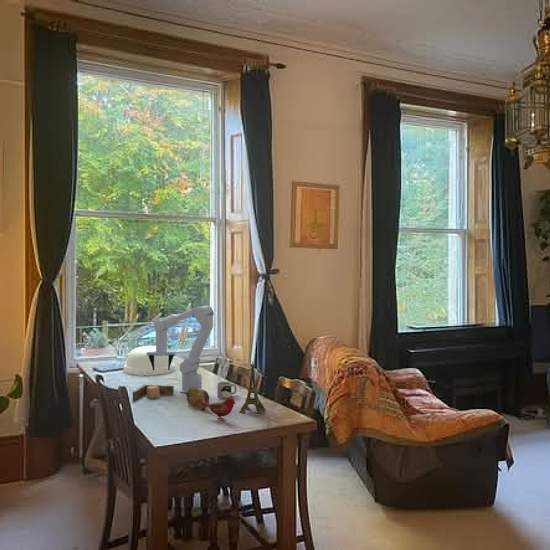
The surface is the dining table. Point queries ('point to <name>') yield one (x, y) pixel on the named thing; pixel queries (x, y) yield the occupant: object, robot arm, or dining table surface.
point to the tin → (197, 398)
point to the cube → (152, 391)
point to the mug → (225, 390)
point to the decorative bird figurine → (221, 407)
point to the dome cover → (147, 362)
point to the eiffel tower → (254, 399)
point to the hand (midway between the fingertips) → (161, 369)
